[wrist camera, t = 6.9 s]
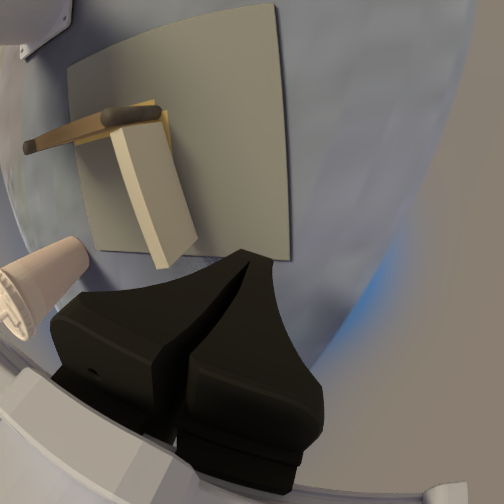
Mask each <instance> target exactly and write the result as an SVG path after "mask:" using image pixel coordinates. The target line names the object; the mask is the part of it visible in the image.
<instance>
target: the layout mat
mask: <svg viewBox="0 0 504 504" xmlns="http://www.w3.org/2000/svg"><path fill="white" fill-rule="evenodd" d="M67 87H68V102H69V113H70V123H71V122H74V121H76V120H79V119H82V118H84V117H87V116H90V115H93V114H95V113H98V112H101V111H103V110H104V109H105V108H113V107H126V106H145V105H158V106H160V107H161V109H162V113H161V116H160V118H159V119H157V120H151V121H145V122H144V123H139V124H135V125H140V124H148V123H155V122H162V124H163V128H164V131H165V135H166V138H167V141H168V145H169V148H170V152H171V155H172V158H173V162H174V165H175V168H176V171H177V175H178V178H179V181H180V184H181V187H182V191H183V194H184V197H185V200H186V203H187V206H188V209H189V212H190V215H191V218H192V221H193V224H194V227H195V230H196V233H197V236H198V239H197V240H196V241H195V242H194V243H193V244H192V245H191V246H190V247H189V248H188V249H187V250H186V251H185V252H184V253H183V254H182V255H196V256H215V257H226V256H228V255H230V254H232V253H233V252H235V251H237V250H239V249H244V250H247V251H250V252H253V253H256V254H259V255H262V256H266V257H269V258H272V259H274V260H290V225H289V195H288V171H287V151H286V134H285V118H284V103H283V90H282V77H281V65H280V54H279V44H278V34H277V24H276V15H275V6H274V3H267V4H258V5H251V6H244V7H238V8H233V9H227V10H222V11H217V12H213V13H208V14H204V15H200V16H196V17H192V18H188V19H184V20H181V21H177V22H174V23H171V24H167V25H164V26H161V27H158V28H155V29H152V30H149V31H147V32H144V33H141V34H139V35H136V36H133V37H131V38H128V39H126V40H123V41H121V42H119V43H116V44H114V45H112V46H109V47H107V48H105V49H103V50H101V51H99V52H97V53H94V54H92V55H90V56H88V57H86V58H84V59H82V60H81V61H79V62H77V63H75V64H73V65H71V66H69V67H68V68H67ZM131 126H133V125H131ZM116 130H117V129H115V130H111V131H107V132H104V133H100V134H96V135H93V136H90V137H86V138H83V139H80V140H77V141H73V146H74V153H75V159H76V165H77V171H78V176H79V181H80V186H81V191H82V196H83V200H84V205H85V209H86V213H87V217H88V221H89V225H90V229H91V233H92V236H93V240H94V244H95V247H96V250H108V251H125V252H142V253H150V251H149V249H148V246H147V243H146V241H145V238H144V236H143V233H142V230H141V228H140V225H139V222H138V220H137V217H136V214H135V211H134V209H133V206H132V203H131V200H130V197H129V194H128V191H127V188H126V185H125V182H124V179H123V176H122V173H121V170H120V167H119V163H118V160H117V157H116V153H115V150H114V147H113V143H112V140H111V136H110V133H112V132H114V131H116Z"/></svg>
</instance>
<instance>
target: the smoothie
mask: <svg viewBox="0 0 504 504" xmlns="http://www.w3.org/2000/svg"><path fill="white" fill-rule="evenodd" d="M88 267H89V256H88V253H87V251H86V249H85V247H84V245H83V244H82V243H81V242H80V241H79V240H78V239H77V238H75V237H72V236H69V237H67V238H65V239H62V240H60V241H58V242H55V243H53V244H51V245H49V246H46V247H44V248H42V249H40V250H38V251H35V252H33V253H31V254H29V255H27V256H25V257H23V258H21V259H19V260H17V261H15V262H12V263H10V264H8V265H6V266H5V267H3V268H1V269H0V323H1V322H2V321H3V322H4V323H5V325H6V326H7V327H8V328H9V329H10V330H11V332H13V334H14V335H15V336H17V337H18V338H19V339H21V340H23V341H28V340H29V339H30V338H31V337H32V336H34V335H35V333H36V327H37V326H38V324H39V323H40V322H41V321H42V320H43V319H44V317H45V316H46V315H47V314H48V312H49V311H50V310H51V309H52V308H53V307H54V305H55V304H56V303H57V302H58V301H59V300H60V298H61V297H62V296H63V295H64V294H65V293H66V292H67V291H68V289H69V288H70V287H71V286H72V285H73V284H74V283H75V282H76V281H77V279H78V278H79V277H80V276H81V275H82V274H83V273H84V272H85V271H86V270H87V269H88Z"/></svg>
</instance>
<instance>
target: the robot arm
mask: <svg viewBox="0 0 504 504" xmlns="http://www.w3.org/2000/svg"><path fill="white" fill-rule="evenodd" d="M71 12H72V0H0V46H1V45H20V59H21V60H24V59H25V58H27V57H28V56H29V55H30V54H32V53H33V52H34V51H35V50H37V49H38V48H39V47H41V46H42V45H43V44H45V43H46V42H47V41H49V40H50V39H52V38H53V37H55V36H56V35H57V34H59V33H60V32H62V31H63V30H65V29H66V28H68V27H69V25H70V23H71ZM272 266H273V260H272V258H269V257H266V256H262V255H259V254H256V253H253V252H250V251H247V250H244V249H239V250H237V251H235V252H233V253H232V254H230V255H228V256H226V257H225V258H223V259H221V260H219V261H217V262H215V263H213V264H212V265H210V266H208V267H206V268H204V269H201V270H199V271H197V272H195V273H192V274H190V275H187V276H184V277H182V278H179V279H175V280H172V281H169V282H165V283H161V284H157V285H152V286H148V287H143V288H137V289H130V290H121V291H106V292H81V293H80V294H78V295H77V296H76V297H75V298H74V299H73V300H71V301H70V302H69V303H68V304H67V305H66V306H65V307H64V308H62V309H61V310H60V311H59V312H58V313H57V314H56V315H55V316H54V317H53V318H52V320H51V321H50V332H51V336H52V339H53V342H54V345H55V347H56V350H57V352H58V355H59V357H60V360H61V362H62V366H61V367H60V368H59V369H58V370H57V371H56V373H55V374H54V375H53V376H51V375H50V374H49V373H48V372H46V371H45V370H44V369H42V368H41V367H40V366H39V365H37V364H36V363H35V362H34V361H33V360H31V359H30V358H29V357H28V356H26V355H25V354H24V353H23V352H22V351H21V350H20V349H19V348H17V347H16V346H15V345H14V344H13V343H12V342H11V341H9V339H7V337H5V336H4V335H3V334H2V333H1V332H0V420H1V422H0V504H468V491H467V482H466V481H460V482H450V483H442V484H439V485H436V486H433V487H431V488H429V489H428V490H426V491H425V492H423V493H363V492H350V491H340V490H331V489H323V488H316V487H310V486H304V485H299V484H293V483H294V479H295V474H296V470H297V467H298V466H300V464H301V461H302V457H303V452H304V451H305V450H306V449H307V448H308V447H309V446H310V445H311V444H312V443H313V442H314V441H315V440H316V439H317V438H318V437H319V436H320V434H321V433H322V431H323V425H324V399H323V391H322V386H321V385H320V384H319V382H318V381H317V380H316V379H315V377H314V376H313V375H312V374H311V372H310V371H309V370H308V368H307V367H306V366H305V364H304V363H303V362H302V360H301V358H300V357H299V355H298V353H297V351H296V350H295V348H294V346H293V344H292V342H291V340H290V338H289V336H288V334H287V332H286V329H285V327H284V325H283V322H282V319H281V316H280V313H279V310H278V306H277V302H276V298H275V293H274V287H273V279H272ZM176 436H177V448H176V447H174V446H173V443H174V441H175V439H176Z"/></svg>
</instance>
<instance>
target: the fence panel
mask: <svg viewBox="0 0 504 504" xmlns="http://www.w3.org/2000/svg"><path fill="white" fill-rule="evenodd" d="M110 136H111V140H112V143H113V147H114V150H115V153H116V157H117V160H118V163H119V167H120V170H121V173H122V176H123V179H124V182H125V185H126V188H127V191H128V194H129V197H130V200H131V203H132V206H133V209H134V211H135V214H136V217H137V220H138V222H139V225H140V228H141V230H142V233H143V236H144V238H145V241H146V243H147V246H148V249H149V251H150V254H151V256H152V259H153V261H154V263H155V266H156V268H157V269H163V268H170V267H171V266H172V265H173V264H174V263H175V262H176V260H177V259H178V258H179V257H180V256H181V255H182V254H183V253H184V252H185V251H186V250H187V249H188V248H189V247H190V246H191V245H192V244H193V243H194V242H195V241H196V240H197V239H198V236H197V233H196V230H195V227H194V224H193V221H192V218H191V215H190V212H189V209H188V206H187V203H186V200H185V197H184V194H183V191H182V187H181V184H180V181H179V178H178V175H177V171H176V168H175V165H174V162H173V158H172V155H171V152H170V148H169V145H168V141H167V138H166V135H165V131H164V128H163V124H162V122H155V123H148V124H140V125H133V126H127V127H121V128H119V129H117V130H116V131H114V132H112V133H110Z"/></svg>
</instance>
